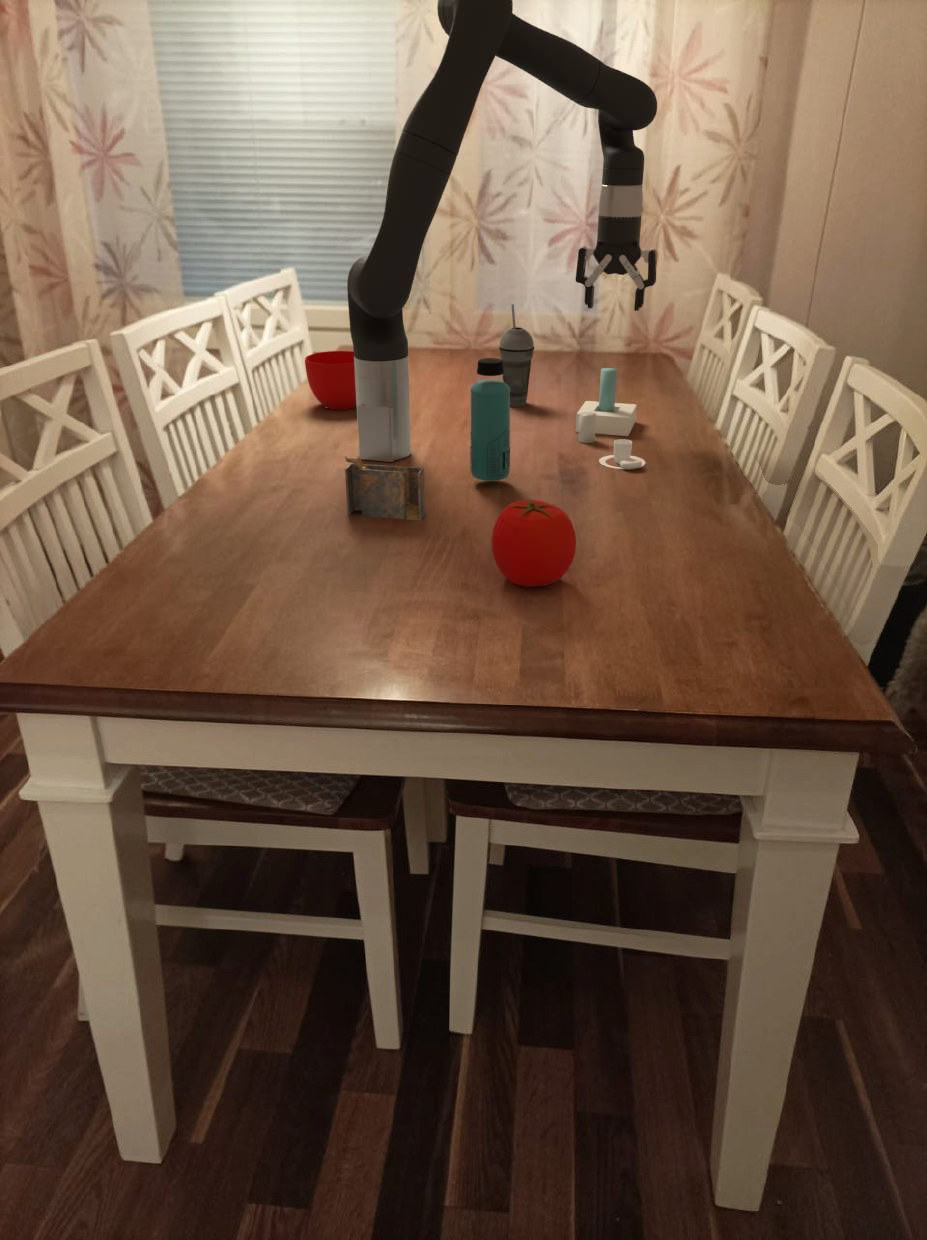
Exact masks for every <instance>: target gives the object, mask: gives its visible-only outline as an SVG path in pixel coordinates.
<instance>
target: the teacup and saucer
mask: <svg viewBox="0 0 927 1240" xmlns="http://www.w3.org/2000/svg"><path fill="white" fill-rule="evenodd" d="M632 447H633V441H632V440H630V439H623V438H622V439H621V438H619V439H615V440H614V441H613V454H611V455H606V456H605V455H604V456H603V457H601V458H599V460H598V463H600V465H602V466H604V467H606V468H609V469H615V470H635V469H640V468H642V467H644V466H645V465H646V461H645V459H643V458H641V457H639V456H635V455H631V453H632ZM612 458H613V459H614V463H615V464H617V465H619V466H620V467H619V466H613V465H610V464H608V463H606V462H607V460H609V459H612Z"/></svg>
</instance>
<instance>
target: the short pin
mask: <svg viewBox="0 0 927 1240" xmlns="http://www.w3.org/2000/svg"><path fill="white" fill-rule="evenodd" d="M595 429H596V413H593V412H582V413H580V421H579V432H578V442H579V443H583V444H592V443H595V440H596V434H595Z"/></svg>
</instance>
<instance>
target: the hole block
mask: <svg viewBox="0 0 927 1240" xmlns="http://www.w3.org/2000/svg"><path fill="white" fill-rule="evenodd" d="M598 411H599V401H594V400H592V401H591V400H585V402H584V403H583V404H582V405H581V407H580V408H579V410H578V411H577V413H576V417H575V432H576V433H579V421H580V413H582V412H593V413H596V429H595V435H596V434H597V435H610V436H621V437H629V435H630V433H631V431H632V430H633V427H634V425H635V424H636V420H637V419H636V416H637V404H635V403H634V404H633V403H623V402H622V403H620V402H615V408H614V413H612V412H598Z"/></svg>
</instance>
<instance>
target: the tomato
mask: <svg viewBox="0 0 927 1240" xmlns="http://www.w3.org/2000/svg"><path fill="white" fill-rule="evenodd" d="M494 523H495V524H494V526H493V527H492V528H493V529H492V534H491V550H492V555H493V559H494V562H495V563H496V566H497V568H498V570H499V572H500V573H501V575H502V576H503V577H505V578H506V579H507V580H508V581H509V582H511V583H513V584H515V585H518V586H521V587H522V586H523V587H531V588H532V587H541V586H542V587H543V586H547V585H551V584H553V583H556V582H557V581H558V580H560V579H561V578H562V577H563V576H564V575H565V574H566V572H567V571H568V570H569V568H570V567H571V565H572V564H573V560H574V557H575V554H576V547H577V538H576V531H575V528H574V526H573V522H572V520H571V519H570V517H569V516H568V514H567V513H566V512H565V511H564V510H563V509H561V508H559V507H558V506H556V504H551V503H548V502H545V501H541V500H534V499H527V500H520V501H514V502H512V503H510V504H509V505H506V507H504V508H503V509H502V510H501V512H500V514H499V515H498V517H497V519H496V520H495V522H494Z"/></svg>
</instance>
